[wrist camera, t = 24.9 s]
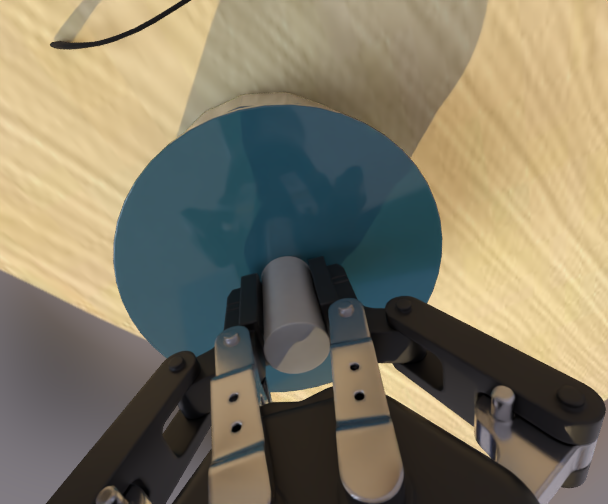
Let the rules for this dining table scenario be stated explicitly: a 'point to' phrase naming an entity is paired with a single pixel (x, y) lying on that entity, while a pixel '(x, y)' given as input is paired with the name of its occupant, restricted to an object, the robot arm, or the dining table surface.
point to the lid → (272, 231)
